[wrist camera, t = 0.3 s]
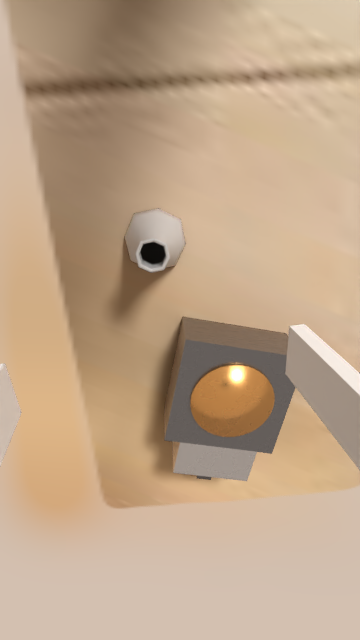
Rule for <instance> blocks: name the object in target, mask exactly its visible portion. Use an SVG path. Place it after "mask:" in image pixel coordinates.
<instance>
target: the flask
mask: <svg viewBox="0 0 360 640" xmlns="http://www.w3.org/2000/svg"><path fill="white" fill-rule="evenodd" d="M125 241H126V245H127V249H128V252H129V256H130V260H131V261H133V262H135V263H137V264H138V267H139V268H141V269H144V270H146V271H148V272H150V273H152V272H157V271H162V270H165V268H166V267H171V266H176V264H177V261H178V259H179V257H180V255H181V253H182V251H183V249H184V247H185V245H186V242H185V237H184V232H183V227H182V222H181V219H179V218H177V217H175V216H173V215H171V214H169V213H167V212H165V211H163V210H161V209H159V208H157V209H153V210H148V211H143V212H139V213H134V215H133V217H132V219H131V222H130V224H129V227H128V229H127V232H126V234H125Z"/></svg>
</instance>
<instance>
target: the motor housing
mask: <svg viewBox="0 0 360 640" xmlns="http://www.w3.org/2000/svg"><path fill="white" fill-rule="evenodd" d="M287 348H288V336H287V334H286V333H280V332H274V331H268V330H262V329H255V328H249V327H243V326H237V325H231V324H224V323H218V322H212V321H206V320H199V319H193V318H187V317H183V318H182V323H181V328H180V333H179V337H178V342H177V347H176V352H175V357H174V362H173V367H172V372H171V377H170V382H169V387H168V392H167V397H166V402H165V407H164V440H165V441H172V451H173V473H180V474H189V475H197V478H199V479H208V480H211V477H215V478H224V479H233V480H242V481H247V479H248V476H249V473H250V470H251V468H252V465H253V462H254V459H255V456H256V453H257V452H263V453H271V454H272V451H273V449H274V446H275V443H276V440H277V437H278V435H279V432H280V429H281V426H282V423H283V421H284V418H285V415H286V412H287V409H288V406H289V404H290V401H291V398H292V395H293V392H294V390H295V386H294V384H293V383H292V382H291V380H290V379H289V378H288V376H287V375H286V374H285V372H286V360H287Z"/></svg>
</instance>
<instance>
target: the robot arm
mask: <svg viewBox="0 0 360 640" xmlns="http://www.w3.org/2000/svg"><path fill="white" fill-rule="evenodd" d="M285 374H286V375H287V376H288V378H289V379H290V380H291V382H292V383H293V384H294V386H295V387H296V388H297V389H298V391H299V392H300V393H301V395H302V396H303V397H304V399H305V400H306V401H307V402H308V404H309V405H310V406H311V408H312V409H313V410H314V412H315V413H316V414H317V415H318V417H319V418H320V419H321V421H322V422H323V423H324V425H325V426H326V427H327V428H328V430H329V431H330V432H331V434H332V435H333V436H334V438H335V439H336V440H337V441H338V443H339V444H340V445H341V447H342V448H343V449H344V451H345V452H346V453H347V454H348V456H349V457H350V458H351V460H352V461H353V462H354V463H355V465H356V466H357V467H358V469H359V470H360V373H359V372H358V371H356V370H355V369H354V368H353V367H352V366H351V365H350V364H349V363H347V362H346V361H345V360H344V359H343V358H342V357H341V356H340V355H339V354H337V353H336V352H335V351H334V350H333V349H332V348H331V347H330V346H328V345H327V344H326V343H325V342H324V341H323V340H322V339H321V338H319V337H318V336H317V335H316V334H315V333H314V332H313V331H312V330H310V329H309V328H308V327H307V326H306V325H305V324H301V325H293V326H289V335H288V348H287V360H286V372H285ZM20 415H21V410H20V407H19V404H18V401H17V398H16V395H15V392H14V389H13V386H12V383H11V380H10V377H9V374H8V371H7V368H6V365H5V364H0V465H1V463H2V460H3V458H4V455H5V453H6V450H7V448H8V445H9V443H10V440H11V437H12V435H13V433H14V430H15V428H16V425H17V423H18V420H19V418H20Z"/></svg>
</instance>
